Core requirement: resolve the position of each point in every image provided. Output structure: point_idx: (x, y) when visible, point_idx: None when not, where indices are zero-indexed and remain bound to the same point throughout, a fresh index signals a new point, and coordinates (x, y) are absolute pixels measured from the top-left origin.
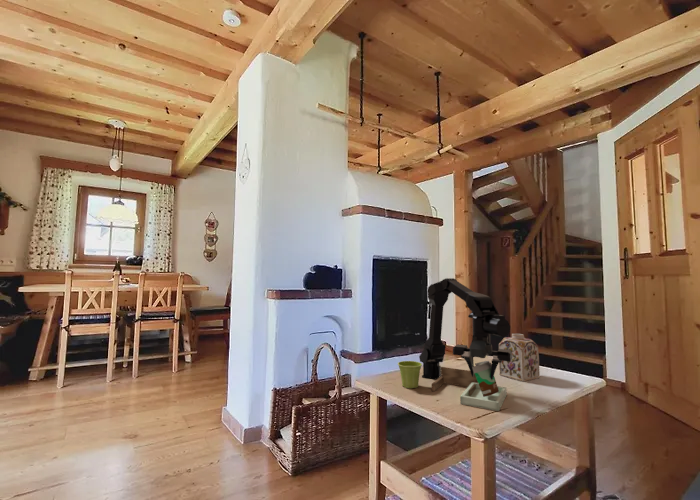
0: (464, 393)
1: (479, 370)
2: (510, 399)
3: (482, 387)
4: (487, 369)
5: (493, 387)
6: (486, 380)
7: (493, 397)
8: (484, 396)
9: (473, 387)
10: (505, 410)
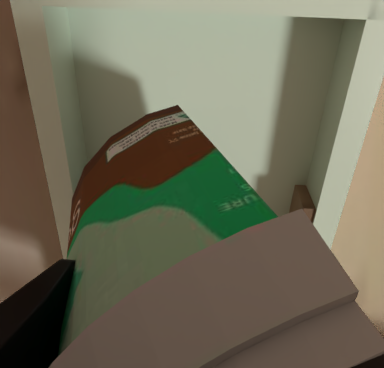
0: (358, 97)
1: (189, 280)
2: (56, 252)
3: (176, 140)
4: None
5: (80, 198)
6: (118, 210)
7: None
8: (169, 107)
9: None
10: (10, 27)
